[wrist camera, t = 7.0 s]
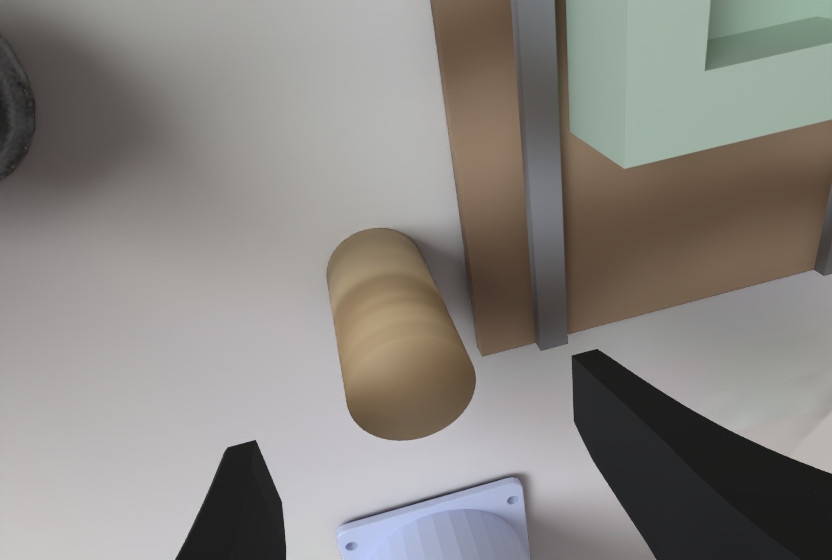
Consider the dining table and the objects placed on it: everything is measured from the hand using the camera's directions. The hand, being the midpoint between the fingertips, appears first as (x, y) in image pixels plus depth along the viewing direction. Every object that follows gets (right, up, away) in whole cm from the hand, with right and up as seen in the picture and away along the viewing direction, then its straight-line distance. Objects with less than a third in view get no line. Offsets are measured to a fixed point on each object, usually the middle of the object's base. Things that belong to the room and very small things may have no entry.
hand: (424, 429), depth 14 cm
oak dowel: (-1, +4, +6) cm, 7 cm away
